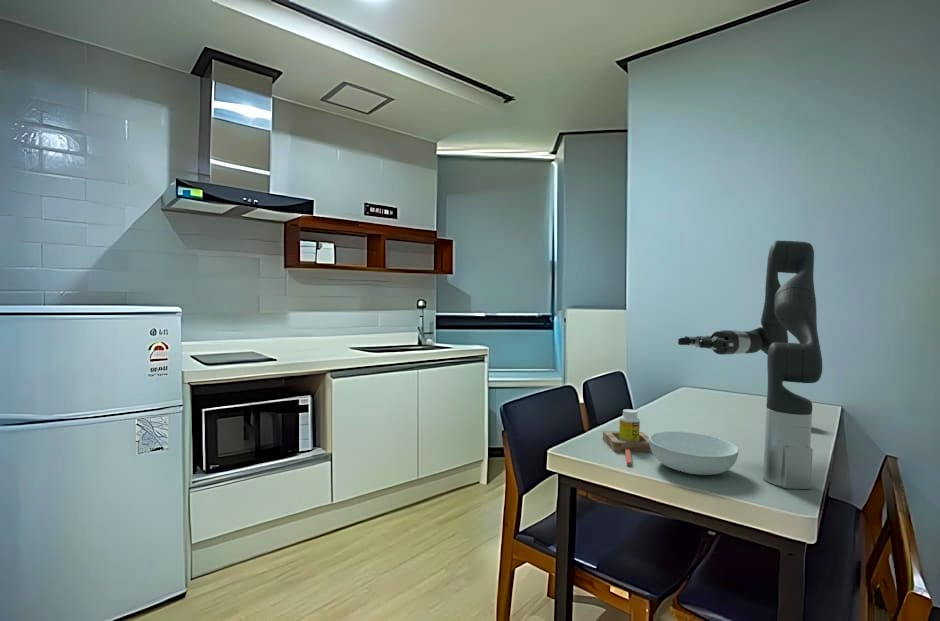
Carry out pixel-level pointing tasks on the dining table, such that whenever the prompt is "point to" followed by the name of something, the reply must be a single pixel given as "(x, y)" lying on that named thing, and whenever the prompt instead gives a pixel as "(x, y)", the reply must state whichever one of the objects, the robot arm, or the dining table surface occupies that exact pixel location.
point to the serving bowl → (693, 452)
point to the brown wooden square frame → (626, 442)
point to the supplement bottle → (629, 426)
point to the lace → (628, 457)
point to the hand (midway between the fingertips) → (689, 342)
